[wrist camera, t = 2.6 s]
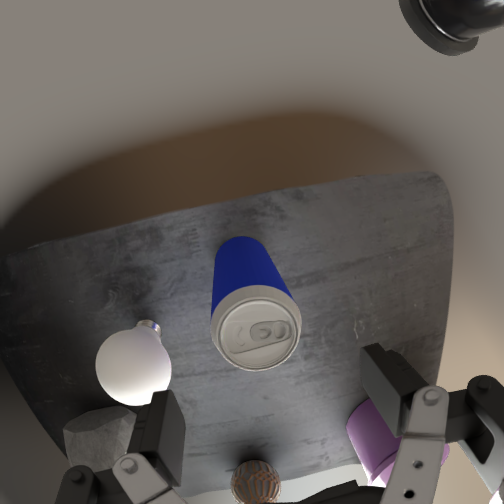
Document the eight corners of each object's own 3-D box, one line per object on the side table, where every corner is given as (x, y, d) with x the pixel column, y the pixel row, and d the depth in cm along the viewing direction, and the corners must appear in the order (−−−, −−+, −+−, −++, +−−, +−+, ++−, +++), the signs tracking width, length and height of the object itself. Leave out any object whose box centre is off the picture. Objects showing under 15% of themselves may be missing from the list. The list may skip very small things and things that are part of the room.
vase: (221, 473, 39) (223, 519, 30) (244, 449, 38) (250, 498, 29) (260, 483, 40) (267, 526, 32) (286, 460, 39) (297, 506, 31)
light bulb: (160, 364, 33) (143, 432, 23) (110, 331, 32) (74, 391, 21) (192, 322, 32) (182, 387, 22) (138, 286, 31) (104, 338, 20)
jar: (414, 377, 37) (457, 427, 26) (407, 427, 40) (440, 476, 29) (341, 403, 37) (372, 466, 26) (343, 451, 40) (367, 507, 29)
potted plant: (159, 404, 31) (204, 500, 31) (113, 388, 39) (151, 471, 39) (64, 448, 22) (130, 547, 21) (40, 417, 30) (88, 504, 29)
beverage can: (219, 289, 32) (218, 380, 17) (211, 238, 31) (201, 299, 16) (270, 282, 32) (307, 366, 18) (265, 231, 31) (302, 284, 16)
